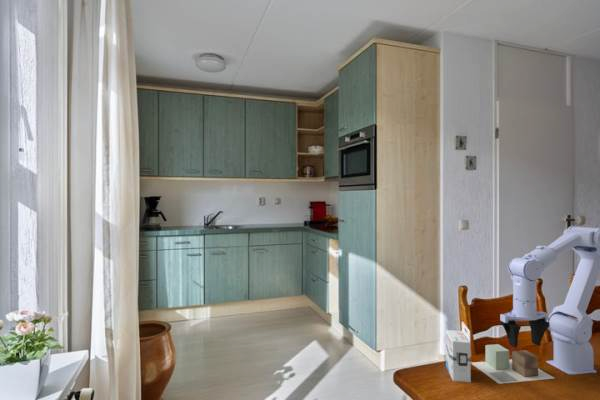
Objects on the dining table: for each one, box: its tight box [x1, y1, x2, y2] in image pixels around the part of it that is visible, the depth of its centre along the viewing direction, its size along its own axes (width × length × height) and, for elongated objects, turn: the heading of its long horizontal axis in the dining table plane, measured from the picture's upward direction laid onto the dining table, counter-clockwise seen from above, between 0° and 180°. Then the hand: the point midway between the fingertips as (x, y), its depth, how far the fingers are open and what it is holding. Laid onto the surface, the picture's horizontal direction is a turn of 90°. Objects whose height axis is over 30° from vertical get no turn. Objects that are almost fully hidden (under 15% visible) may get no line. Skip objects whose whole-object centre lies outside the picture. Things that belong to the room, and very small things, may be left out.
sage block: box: [484, 343, 510, 370], centre depth 101 cm, size 4×4×6 cm
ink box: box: [445, 321, 472, 383], centre depth 97 cm, size 9×5×15 cm, turn 168°
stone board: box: [471, 358, 555, 385], centre depth 99 cm, size 18×12×1 cm, turn 99°
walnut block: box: [511, 349, 539, 377], centre depth 97 cm, size 4×4×6 cm
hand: (524, 345), depth 97 cm, fingers open, 7 cm apart
